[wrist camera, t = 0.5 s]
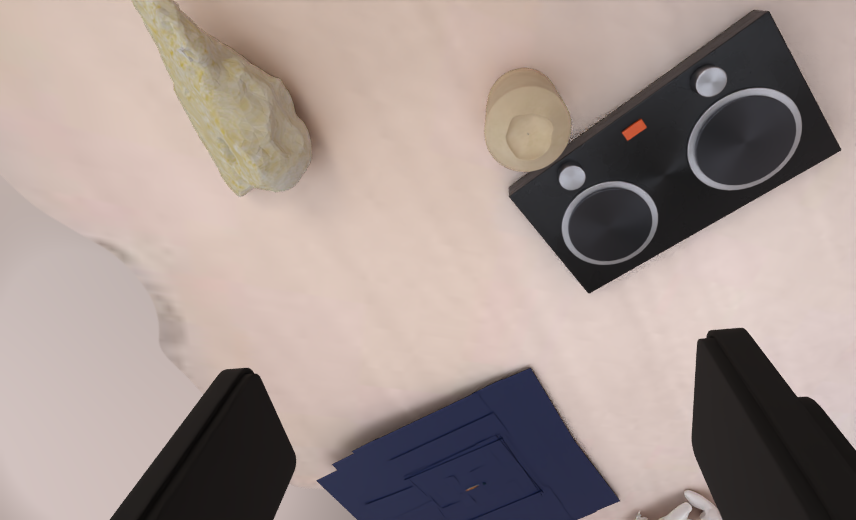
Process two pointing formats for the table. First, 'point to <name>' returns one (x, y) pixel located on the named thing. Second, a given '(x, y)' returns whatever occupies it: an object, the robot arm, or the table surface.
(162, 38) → the cream lumpy piece
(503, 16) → the table surface
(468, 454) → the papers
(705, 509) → the crumpled paper
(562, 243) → the hot plate
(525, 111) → the candle
